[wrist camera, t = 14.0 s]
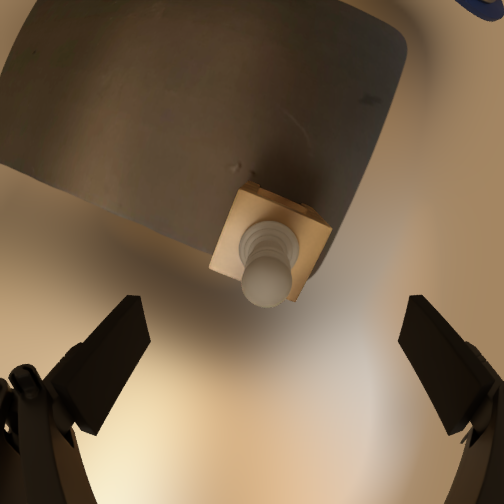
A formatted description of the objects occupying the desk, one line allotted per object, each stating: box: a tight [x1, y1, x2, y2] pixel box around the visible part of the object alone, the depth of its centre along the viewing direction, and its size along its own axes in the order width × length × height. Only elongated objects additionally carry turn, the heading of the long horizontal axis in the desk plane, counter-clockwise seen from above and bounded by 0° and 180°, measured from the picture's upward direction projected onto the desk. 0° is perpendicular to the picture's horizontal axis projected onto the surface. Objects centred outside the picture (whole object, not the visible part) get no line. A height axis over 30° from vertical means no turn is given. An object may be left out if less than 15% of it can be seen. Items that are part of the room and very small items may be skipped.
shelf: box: [208, 181, 332, 302], centre depth 31 cm, size 9×8×12 cm
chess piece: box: [239, 221, 299, 308], centre depth 21 cm, size 5×5×9 cm
